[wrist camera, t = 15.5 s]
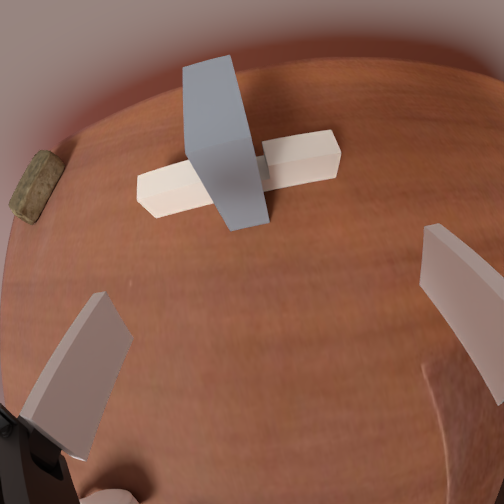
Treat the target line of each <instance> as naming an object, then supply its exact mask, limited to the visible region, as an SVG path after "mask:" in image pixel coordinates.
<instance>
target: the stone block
mask: <svg viewBox="0 0 504 504" xmlns="http://www.w3.org/2000/svg"><path fill="white" fill-rule="evenodd" d="M64 166H65V165H64V163H63V162H62V161H61V160H60V158H59V157H58V156H57V155H55V154H54V153H52V152H51V151H48V150H40V151H39V152H38V153H37V154H36V155H35V156H34V157H33V159H32V161H31V163H30V164H29V165H28V167H27V169H26V171H25V172H24V174H23V176H22V178H21V180H20V181H19V183H18V185H17V188H16V189H15V191H14V193H13V195H12V198H11V199H10V202H9V207H10V209H11V210H12V212H13V214H14V215H15V216H17V217H18V218H20V219H21V220H23V221H25V222H26V223H29V224H31V225H33V224H34V223H35V221H36V220H37V219H38V218H39V215H40V213H41V212H42V210H43V208H44V206H45V204H46V202H47V200H48V198H49V197H50V195H51V192H52V191H53V189H54V187H55V185H56V183H57V181H58V180H59V178H60V176H61V174H62V172H63V170H64Z"/></svg>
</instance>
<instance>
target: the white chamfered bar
mask: <svg viewBox="0 0 504 504" xmlns="http://www.w3.org/2000/svg"><path fill="white" fill-rule="evenodd" d="M262 146H263V151H264V155H262V156H258V157H256V161H257V165H258V170H259V174H260V179H261V183H262V188H263V192H265V191H270V190H274V189H279V188H284V187H289V186H294V185H299V184H304V183H310V182H315V181H320V180H326V179H331V178H336V175H337V171H338V166H339V162H340V157H341V150H340V148H339V146H338V143H337V141H336V139H335V137H334V135H333V132H332V130H325V131H318V132H311V133H305V134H299V135H293V136H288V137H282V138H277V139H272V140H267V141H262ZM137 201H138V202H139V203H140V204H141V205H142V206H143V207H144V208H146V209H147V210H148V211H149V212H150V213H151V214H152V215H153V216H154V217H155V218H159V217H163V216H166V215H170V214H174V213H178V212H181V211H185V210H189V209H193V208H197V207H201V206H205V205H209V204H213V203H214V202H213V201H212V199H211V197H210V195H209V194H208V192H207V190H206V189H205V187H204V185H203V183H202V182H201V180H200V178H199V176H198V175H197V173H196V171H195V170H194V168H193V166H192V164H191V163H190V161H189V160H186V161H182V162H179V163H176V164H172V165H169V166H166V167H163V168H160V169H156V170H153V171H150V172H147V173H144V174H142V175H139V176H138V181H137Z"/></svg>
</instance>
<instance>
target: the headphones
mask: <svg viewBox="0 0 504 504" xmlns="http://www.w3.org/2000/svg"><path fill="white" fill-rule="evenodd" d="M79 501H80V504H139V503H138V502H137V500H136V499H135V498H134V497H133V496H132V494H131V493H130V492H129V491H127V490H123V489H106V490H101V491H98V492H95V493H93V494H92V495H90V496H88V497H86V498H82V499H80V500H79Z"/></svg>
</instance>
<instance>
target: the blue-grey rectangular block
mask: <svg viewBox="0 0 504 504" xmlns="http://www.w3.org/2000/svg"><path fill="white" fill-rule="evenodd" d="M183 113H184V139H185V154H186V156H187V157H188V159H189V161H190V163H191V164H192V166H193V168H194V170H195V171H196V173H197V175H198V176H199V178H200V180H201V182H202V183H203V185H204V187H205V189H206V190H207V192H208V194H209V195H210V197H211V199H212V201H213V202H214V204H215V206H216V207H217V209H218V211H219V213H220V214H221V216H222V218H223V219H224V221H225V223H226V225H227V226H228V228H229V230H230V231H233V230H238V229H242V228H247V227H252V226H256V225H261V224H265V223H270V221H269V216H268V212H267V207H266V202H265V197H264V193H263V188H262V183H261V179H260V174H259V170H258V165H257V161H256V156H255V152H254V147H253V143H252V138H251V134H250V130H249V126H248V122H247V118H246V114H245V110H244V106H243V102H242V98H241V95H240V91H239V87H238V83H237V79H236V76H235V72H234V68H233V65H232V61H231V57H230V55H228V56H223V57H219V58H215V59H211V60H207V61H204V62H200V63H196V64H193V65H190V66H186V67H183Z"/></svg>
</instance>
